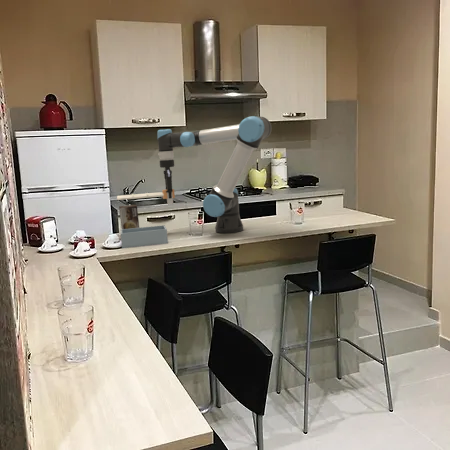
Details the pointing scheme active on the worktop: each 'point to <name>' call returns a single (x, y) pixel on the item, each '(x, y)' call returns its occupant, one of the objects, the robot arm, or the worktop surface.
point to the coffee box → (129, 216)
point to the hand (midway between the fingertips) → (170, 203)
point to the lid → (145, 195)
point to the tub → (144, 236)
